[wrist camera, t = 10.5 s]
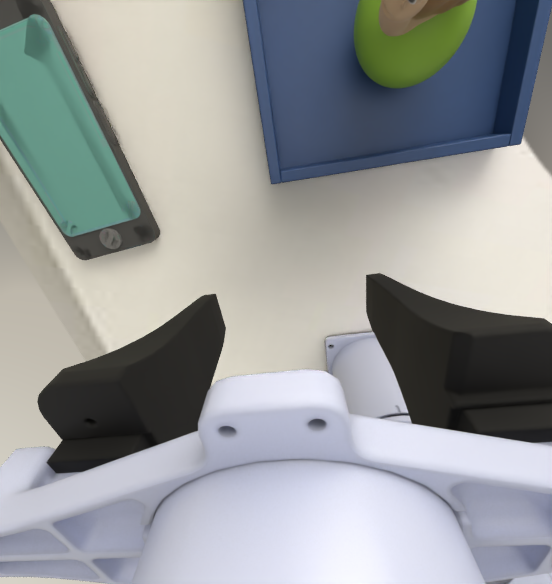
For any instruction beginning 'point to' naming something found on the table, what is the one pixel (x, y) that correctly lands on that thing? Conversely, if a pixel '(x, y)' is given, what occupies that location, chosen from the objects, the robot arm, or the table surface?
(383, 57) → the snail figurine
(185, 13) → the table surface
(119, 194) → the smartphone
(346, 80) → the tray
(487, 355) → the robot arm
